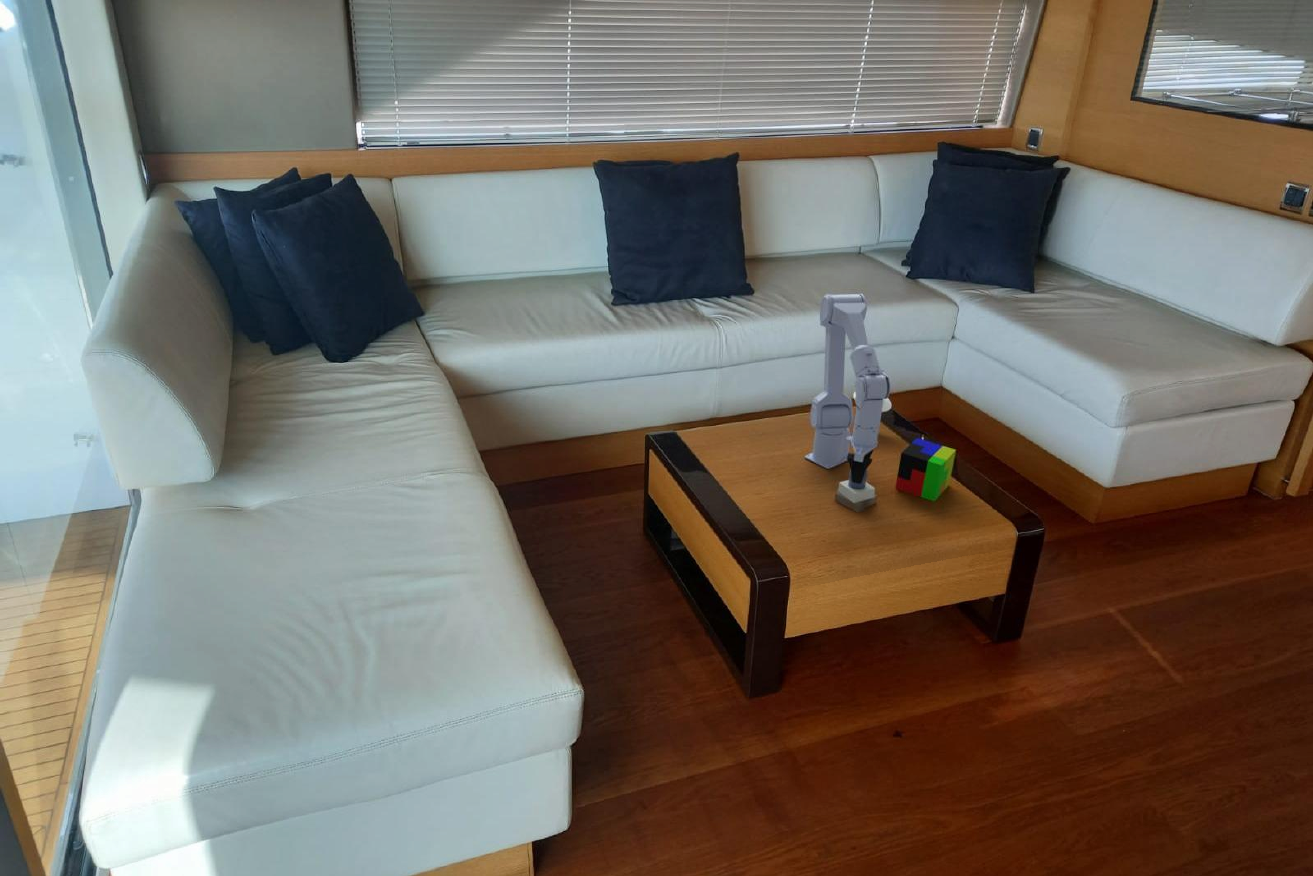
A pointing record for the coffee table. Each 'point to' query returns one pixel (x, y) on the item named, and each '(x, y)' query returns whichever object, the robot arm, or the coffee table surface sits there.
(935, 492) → the puzzle toy
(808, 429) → the coffee table surface
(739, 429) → the coffee table surface
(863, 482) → the navy rounded cylinder
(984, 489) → the coffee table surface
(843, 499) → the walnut base block
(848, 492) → the cream top block
